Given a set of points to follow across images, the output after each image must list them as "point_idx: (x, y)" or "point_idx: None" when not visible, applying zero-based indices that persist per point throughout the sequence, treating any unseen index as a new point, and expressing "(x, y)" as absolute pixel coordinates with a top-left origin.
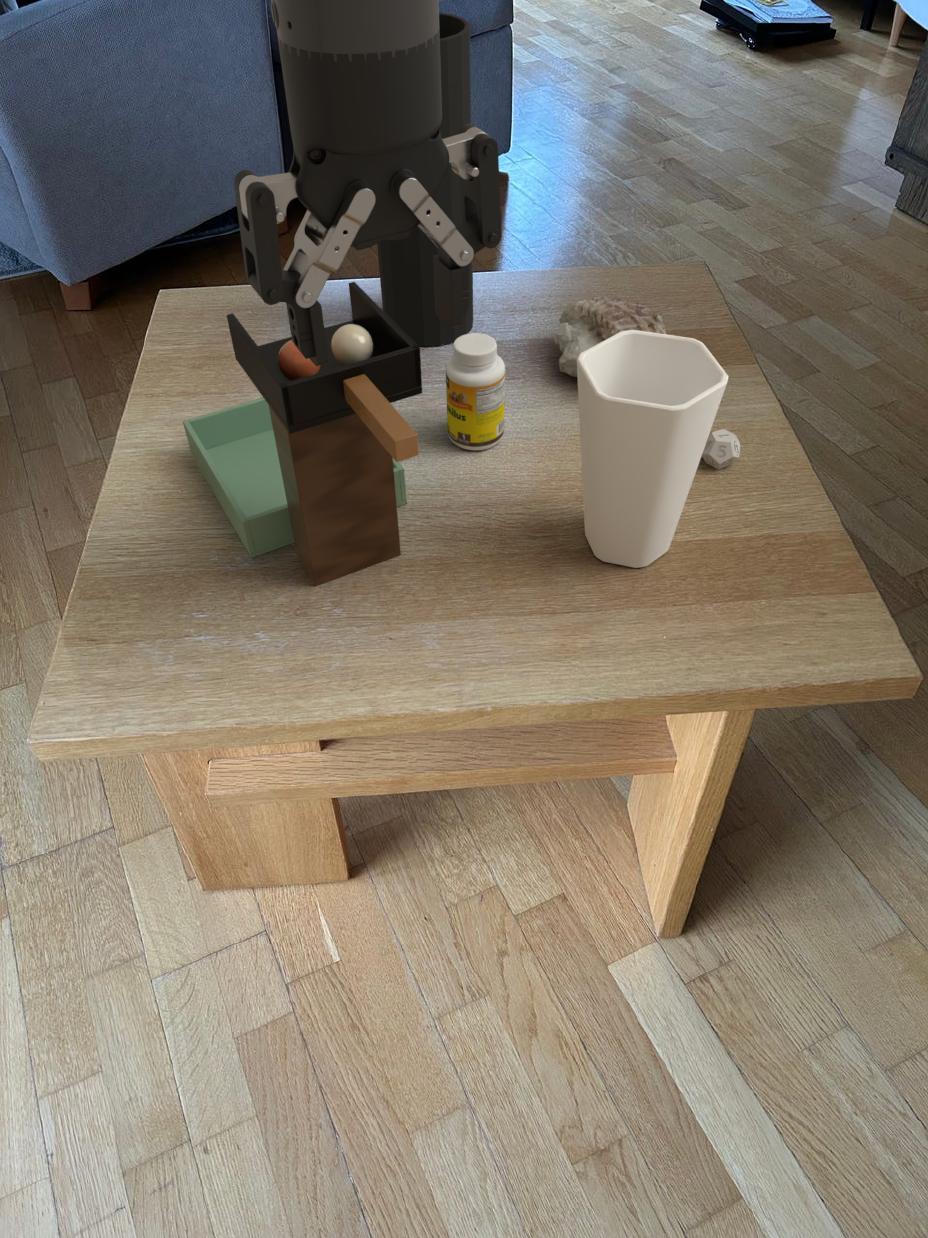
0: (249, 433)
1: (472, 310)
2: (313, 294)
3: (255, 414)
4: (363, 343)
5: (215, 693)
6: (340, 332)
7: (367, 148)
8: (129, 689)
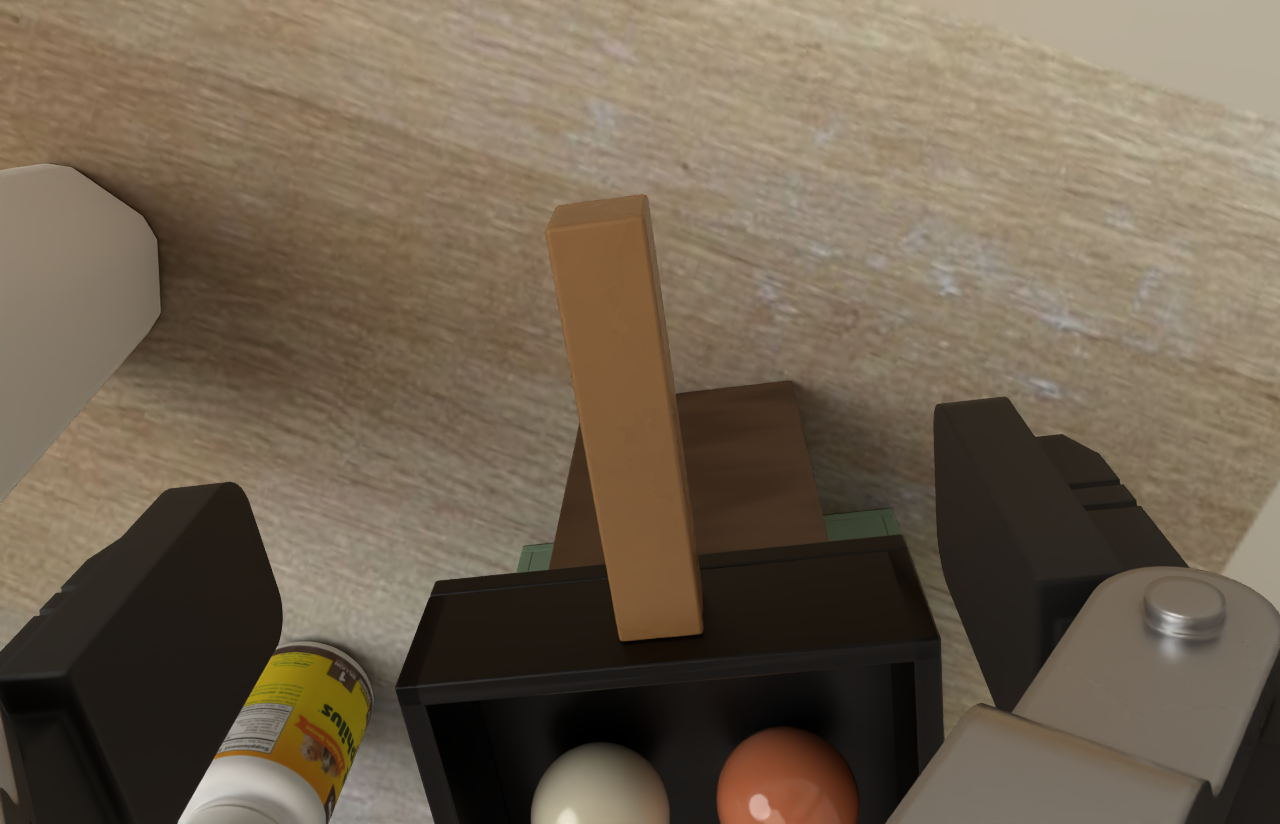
0: None
1: None
2: (1128, 622)
3: None
4: (569, 796)
5: (1096, 152)
6: None
7: None
8: (1256, 233)
